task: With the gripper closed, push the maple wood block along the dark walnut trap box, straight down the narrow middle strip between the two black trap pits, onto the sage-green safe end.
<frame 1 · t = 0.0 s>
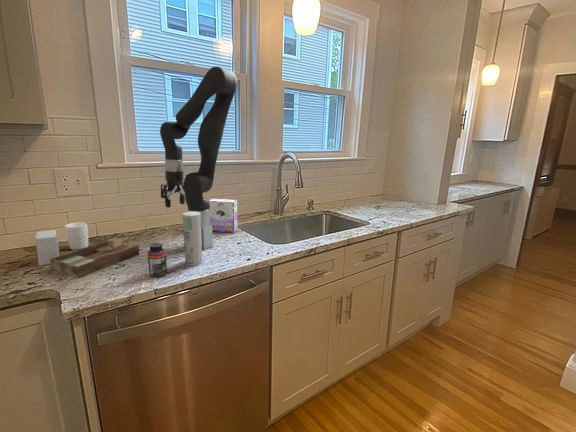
hand: (175, 205, 143), 17 cm above the worktop, tool pointing down, fingers open, 8 cm apart
skincare box: (50, 260, 123), on the worktop
candy box: (223, 231, 166), on the worktop
white cup: (79, 247, 136), on the worktop
maple block: (116, 249, 129), point 2 cm above the worktop, touching trap box
spray can: (193, 263, 124), on the worktop
trap box: (98, 261, 122), on the worktop
supplement bottle: (158, 274, 113), on the worktop
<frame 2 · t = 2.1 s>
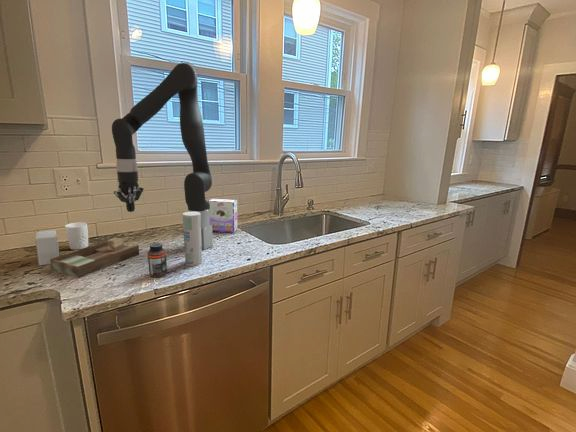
hand: (131, 211, 133), 17 cm above the worktop, tool pointing down, fingers closed
nothing on the worktop moved.
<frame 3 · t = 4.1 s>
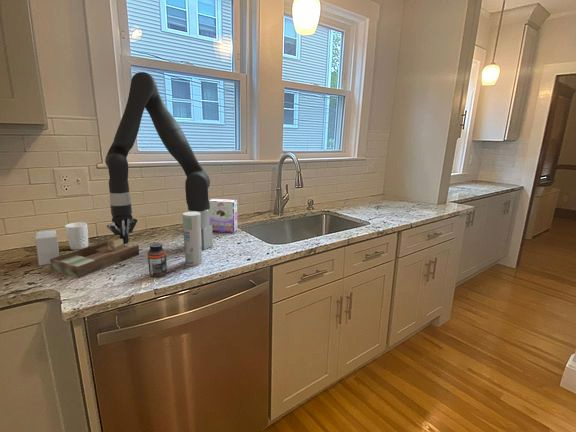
hand: (124, 243, 132), 4 cm above the worktop, tool pointing down, fingers closed
maple block: (116, 249, 129), point 3 cm above the worktop, touching gripper, trap box
everything else where it was.
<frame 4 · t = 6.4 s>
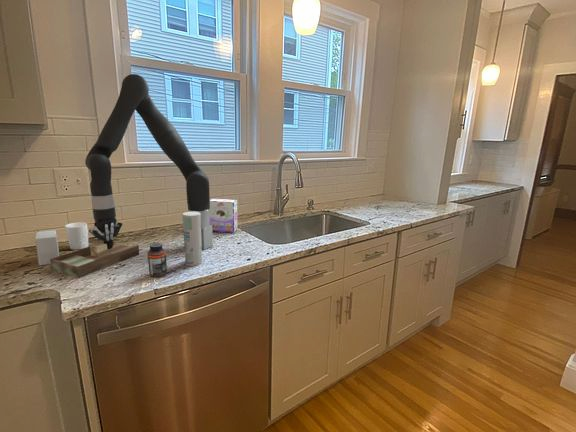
hand: (109, 248, 126), 4 cm above the worktop, tool pointing down, fingers closed
maple block: (99, 254, 122), point 3 cm above the worktop, touching gripper
everything else where it was.
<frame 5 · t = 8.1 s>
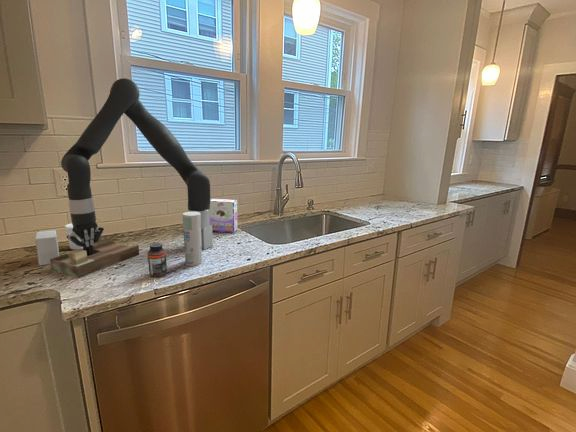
hand: (89, 254, 119), 4 cm above the worktop, tool pointing down, fingers closed
maple block: (78, 261, 115), point 2 cm above the worktop, touching gripper, trap box
everything else where it was.
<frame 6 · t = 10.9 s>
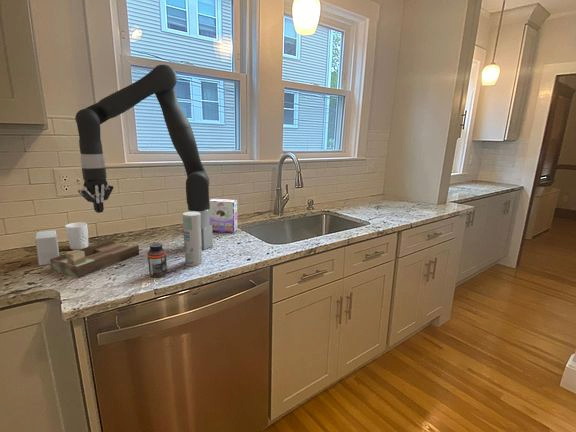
hand: (99, 212, 120), 19 cm above the worktop, tool pointing down, fingers closed
maple block: (76, 262, 114), point 2 cm above the worktop, touching trap box
everything else where it was.
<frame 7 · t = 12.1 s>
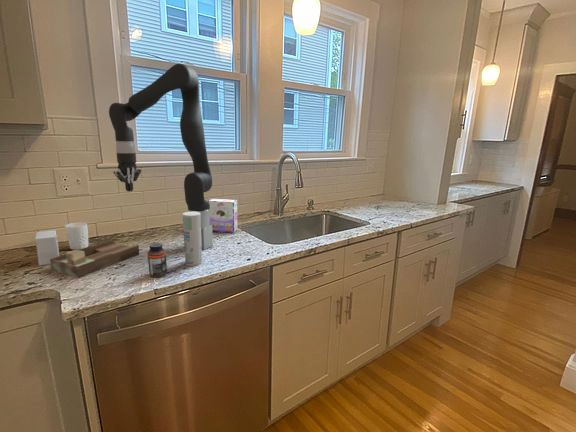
hand: (129, 191, 142), 23 cm above the worktop, tool pointing down, fingers closed
nothing on the worktop moved.
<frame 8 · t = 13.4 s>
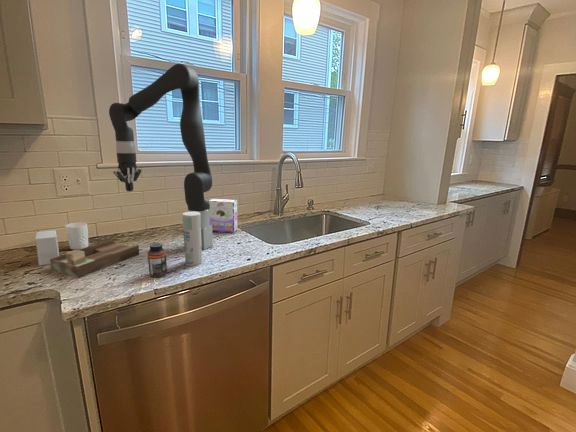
hand: (129, 191, 142), 23 cm above the worktop, tool pointing down, fingers closed
nothing on the worktop moved.
at the end: maple block inside the target area (0.2 cm from its centre), point 2.5 cm above the worktop; maple block tilted 0°; the gripper is holding nothing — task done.
